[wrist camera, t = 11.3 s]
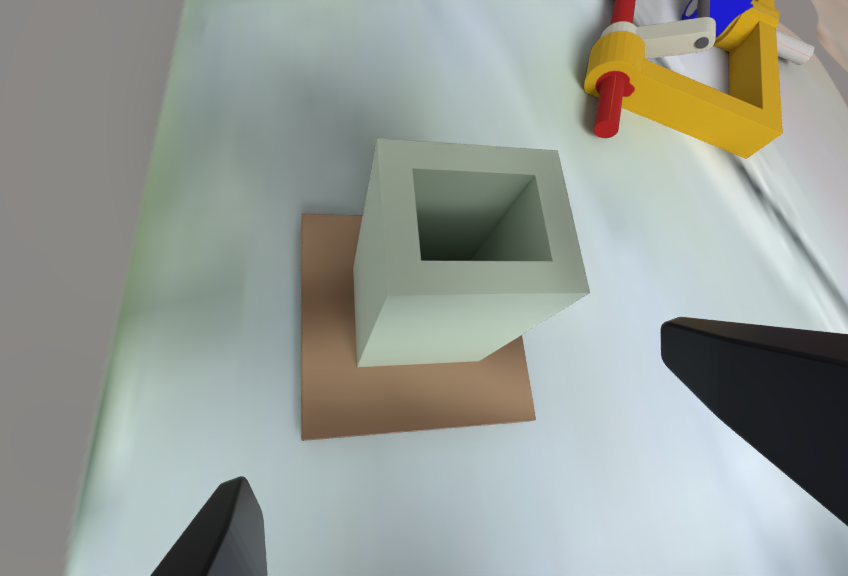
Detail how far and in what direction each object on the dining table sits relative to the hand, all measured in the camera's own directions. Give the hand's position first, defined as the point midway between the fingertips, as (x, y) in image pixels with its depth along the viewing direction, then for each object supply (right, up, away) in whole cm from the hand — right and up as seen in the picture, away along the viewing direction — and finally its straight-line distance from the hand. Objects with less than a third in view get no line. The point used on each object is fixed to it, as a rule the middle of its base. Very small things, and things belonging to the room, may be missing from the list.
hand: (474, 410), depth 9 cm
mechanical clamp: (+21, +23, +29) cm, 43 cm away
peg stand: (-2, +1, +14) cm, 14 cm away
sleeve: (-1, +1, +13) cm, 14 cm away
